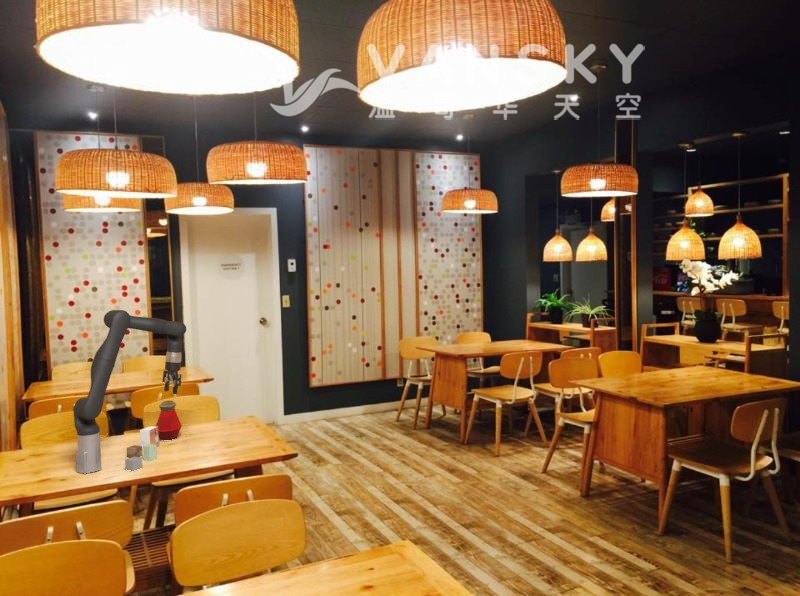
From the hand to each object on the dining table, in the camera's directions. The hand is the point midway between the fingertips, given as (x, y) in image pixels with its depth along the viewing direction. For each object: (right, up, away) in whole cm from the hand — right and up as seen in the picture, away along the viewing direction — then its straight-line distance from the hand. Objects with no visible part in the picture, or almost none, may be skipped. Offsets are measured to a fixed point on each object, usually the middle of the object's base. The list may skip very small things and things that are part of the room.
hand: (170, 392), depth 322 cm
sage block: (-3, -29, -19) cm, 35 cm away
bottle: (-8, -28, +18) cm, 34 cm away
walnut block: (-13, -29, -13) cm, 35 cm away
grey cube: (-5, -30, -33) cm, 45 cm away
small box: (-11, -29, 0) cm, 31 cm away
